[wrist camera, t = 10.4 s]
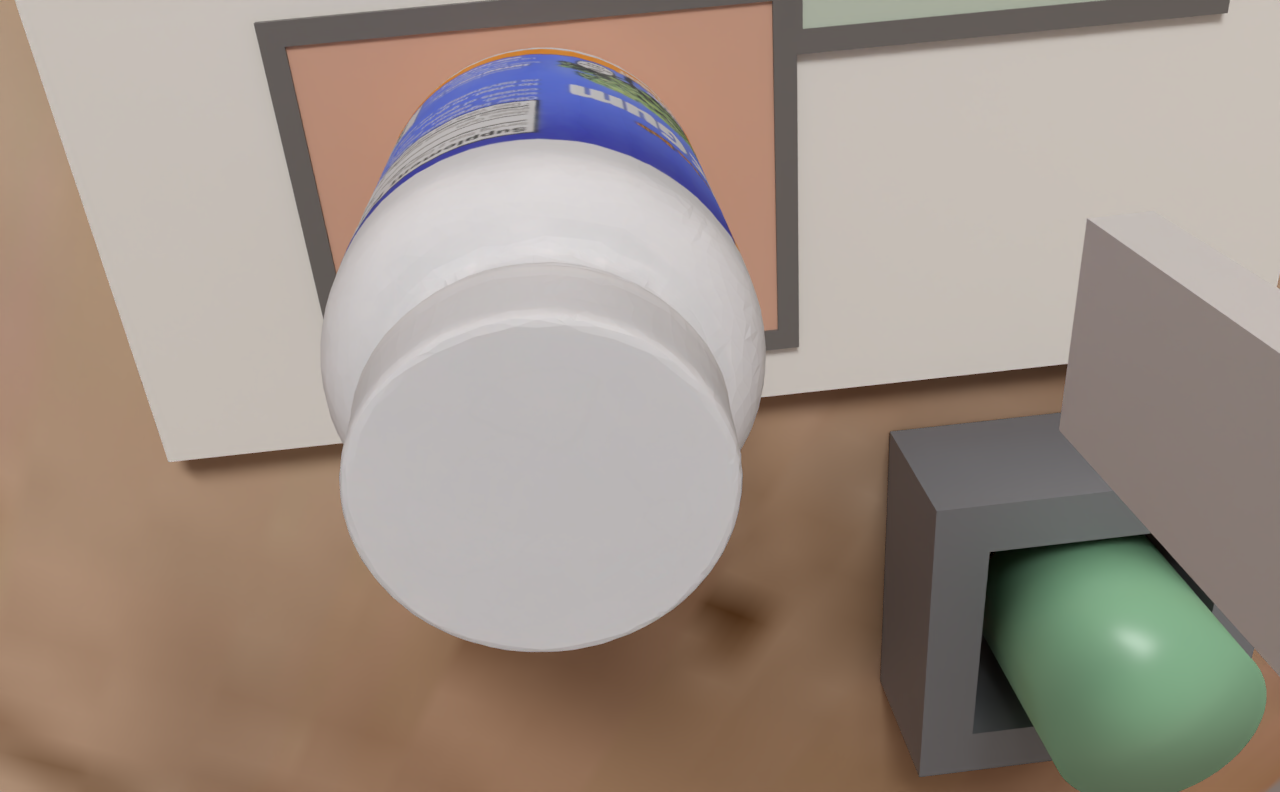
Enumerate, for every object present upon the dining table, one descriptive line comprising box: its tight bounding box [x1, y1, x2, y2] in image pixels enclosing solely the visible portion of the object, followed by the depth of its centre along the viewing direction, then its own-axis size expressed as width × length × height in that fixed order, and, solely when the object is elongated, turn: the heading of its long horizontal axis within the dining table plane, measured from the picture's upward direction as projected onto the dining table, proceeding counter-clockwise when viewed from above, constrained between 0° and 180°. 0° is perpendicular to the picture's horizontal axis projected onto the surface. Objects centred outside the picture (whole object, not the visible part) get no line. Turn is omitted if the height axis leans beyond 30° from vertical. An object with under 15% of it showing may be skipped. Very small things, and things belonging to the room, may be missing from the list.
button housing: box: [880, 413, 1254, 777], centre depth 23 cm, size 7×7×3 cm
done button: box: [982, 534, 1266, 792], centre depth 22 cm, size 4×4×4 cm
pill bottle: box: [320, 48, 766, 652], centre depth 15 cm, size 5×5×10 cm
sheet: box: [15, 0, 1280, 462], centre depth 18 cm, size 22×14×1 cm, turn 95°
